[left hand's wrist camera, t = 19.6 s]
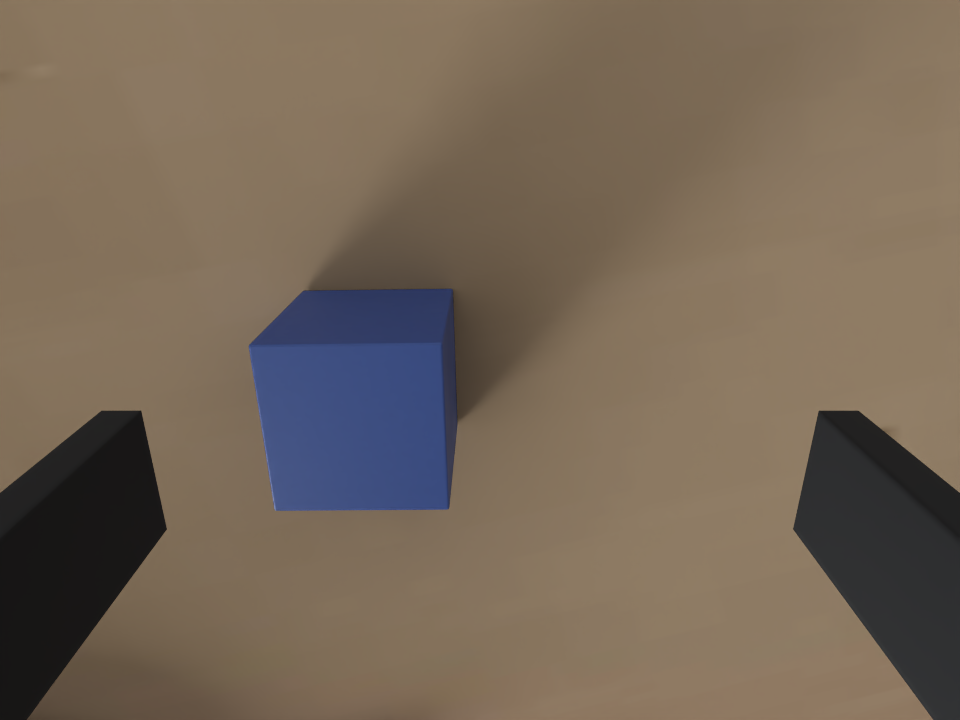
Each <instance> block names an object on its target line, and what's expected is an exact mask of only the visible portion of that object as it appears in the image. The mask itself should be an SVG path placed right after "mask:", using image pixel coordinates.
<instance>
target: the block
mask: <svg viewBox="0 0 960 720" xmlns="http://www.w3.org/2000/svg"><path fill="white" fill-rule="evenodd" d="M249 351H250V357H251V363H252V370H253V376H254V382H255V389H256V395H257V401H258V407H259V414H260V420H261V426H262V433H263V439H264V445H265V452H266V458H267V464H268V471H269V477H270V483H271V490H272V496H273V502H274V509H275V510H276V511H296V510H439V509H449V505H450V494H451V484H452V474H453V463H454V453H455V443H456V433H457V399H456V368H455V338H454V308H453V290H452V289H404V290H326V291H303V292H302V293H301V294H300V295H299V296H298V297H297V298H296V299H295V300H294V301H293V302H292V303H291V304H290V305H289V306H288V307H287V308H286V309H285V310H284V311H283V312H282V313H281V314H280V315H279V316H278V317H277V318H276V319H275V320H274V321H273V322H272V323H271V324H270V325H269V326H268V327H267V328H266V329H265V330H264V331H263V332H262V333H261V334H260V335H259V336H258V337H257V338H256V339H255V340H254V341H253V342H252V343H251V344H250V345H249Z"/></svg>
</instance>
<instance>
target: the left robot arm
mask: <svg viewBox="0 0 960 720" xmlns="http://www.w3.org/2000/svg"><path fill="white" fill-rule="evenodd" d="M166 530H167V528H166V523H165V519H164V514H163V510H162V505H161V500H160V496H159V491H158V486H157V482H156V477H155V473H154V468H153V463H152V459H151V454H150V450H149V445H148V440H147V436H146V431H145V426H144V422H143V417H142V413H141V411H101V412H100V413H98V414H97V415H96V416H95V417H93V418H92V419H91V420H90V421H88V422H87V423H86V424H85V425H83V426H82V427H81V428H80V429H79V430H77V431H76V432H75V433H74V434H72V435H71V436H70V437H69V438H67V439H66V440H65V441H64V442H63V443H61V444H60V445H59V446H58V447H56V448H55V449H54V450H53V451H51V452H50V453H49V454H48V455H47V456H45V457H44V458H43V459H42V460H40V461H39V462H38V463H37V464H35V465H34V466H33V467H32V468H30V469H29V470H28V471H27V472H26V473H24V474H23V475H22V476H21V477H19V478H18V479H17V480H16V481H14V482H13V483H12V484H11V485H10V486H8V487H7V488H6V489H5V490H3V491H2V492H1V493H0V720H27V718H28V717H29V716H30V714H31V713H32V712H33V710H34V709H35V708H36V706H37V705H38V703H39V702H40V701H41V699H42V698H43V697H44V695H45V694H46V693H47V691H48V690H49V689H50V687H51V686H52V684H53V683H54V682H55V680H56V679H57V678H58V676H59V675H60V674H61V672H62V671H63V670H64V668H65V667H66V665H67V664H68V663H69V661H70V660H71V659H72V657H73V656H74V655H75V653H76V652H77V650H78V649H79V648H80V646H81V645H82V644H83V642H84V641H85V640H86V638H87V637H88V636H89V634H90V633H91V631H92V630H93V629H94V627H95V626H96V625H97V623H98V622H99V621H100V619H101V618H102V617H103V615H104V614H105V612H106V611H107V610H108V608H109V607H110V606H111V604H112V603H113V602H114V600H115V599H116V598H117V596H118V595H119V593H120V592H121V591H122V589H123V588H124V587H125V585H126V584H127V583H128V581H129V580H130V579H131V577H132V576H133V574H134V573H135V572H136V570H137V569H138V568H139V566H140V565H141V564H142V562H143V561H144V559H145V558H146V557H147V555H148V554H149V553H150V551H151V550H152V549H153V547H154V546H155V545H156V543H157V542H158V540H159V539H160V538H161V536H162V535H163V534H164V532H165V531H166ZM793 530H794V531H795V532H796V534H797V535H798V536H799V538H800V539H801V540H802V542H803V543H804V545H805V546H806V547H807V549H808V550H809V551H810V553H811V554H812V555H813V557H814V558H815V559H816V561H817V562H818V564H819V565H820V566H821V568H822V569H823V570H824V572H825V573H826V574H827V576H828V577H829V579H830V580H831V581H832V583H833V584H834V585H835V587H836V588H837V589H838V591H839V592H840V593H841V595H842V596H843V598H844V599H845V600H846V602H847V603H848V604H849V606H850V607H851V608H852V610H853V611H854V612H855V614H856V615H857V617H858V618H859V619H860V621H861V622H862V623H863V625H864V626H865V627H866V629H867V630H868V631H869V633H870V634H871V636H872V637H873V638H874V640H875V641H876V642H877V644H878V645H879V646H880V648H881V649H882V650H883V652H884V653H885V655H886V656H887V657H888V659H889V660H890V661H891V663H892V664H893V665H894V667H895V668H896V670H897V671H898V672H899V674H900V675H901V676H902V678H903V679H904V680H905V682H906V683H907V684H908V686H909V687H910V689H911V690H912V691H913V693H914V694H915V695H916V697H917V698H918V699H919V701H920V702H921V703H922V705H923V706H924V708H925V709H926V710H927V712H928V713H929V714H930V716H931V717H932V718H933V720H960V493H959V492H958V491H957V490H955V489H954V488H953V487H952V486H950V485H949V484H948V483H947V482H946V481H944V480H943V479H942V478H941V477H939V476H938V475H937V474H936V473H934V472H933V471H932V470H931V469H930V468H928V467H927V466H926V465H925V464H923V463H922V462H921V461H920V460H918V459H917V458H916V457H915V456H913V455H912V454H911V453H910V452H909V451H907V450H906V449H905V448H904V447H902V446H901V445H900V444H899V443H897V442H896V441H895V440H894V439H893V438H891V437H890V436H889V435H888V434H886V433H885V432H884V431H883V430H881V429H880V428H879V427H878V426H877V425H875V424H874V423H873V422H872V421H870V420H869V419H868V418H867V417H865V416H864V415H863V414H862V413H860V412H859V411H819V413H818V417H817V422H816V426H815V431H814V436H813V440H812V445H811V450H810V454H809V459H808V463H807V468H806V473H805V477H804V482H803V486H802V491H801V496H800V500H799V505H798V510H797V514H796V519H795V523H794V528H793Z"/></svg>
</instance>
